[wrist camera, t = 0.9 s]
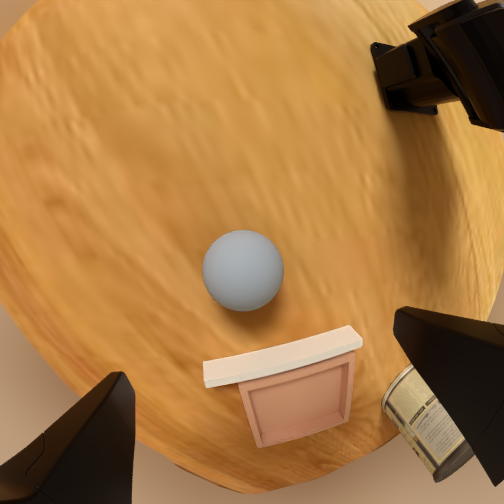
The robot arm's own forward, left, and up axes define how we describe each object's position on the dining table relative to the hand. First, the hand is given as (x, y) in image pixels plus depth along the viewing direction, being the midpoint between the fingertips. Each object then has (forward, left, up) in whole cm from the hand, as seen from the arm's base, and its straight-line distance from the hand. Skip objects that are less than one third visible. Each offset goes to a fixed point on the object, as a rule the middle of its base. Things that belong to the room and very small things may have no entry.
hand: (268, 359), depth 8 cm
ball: (0, +1, -12) cm, 12 cm away
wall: (-2, +9, -12) cm, 15 cm away
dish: (-3, +16, -12) cm, 20 cm away
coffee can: (-19, +23, -12) cm, 32 cm away
